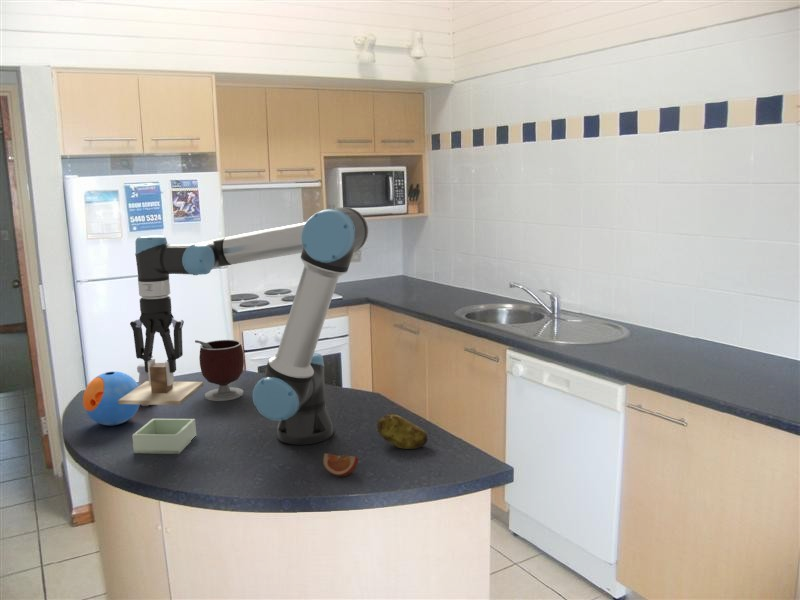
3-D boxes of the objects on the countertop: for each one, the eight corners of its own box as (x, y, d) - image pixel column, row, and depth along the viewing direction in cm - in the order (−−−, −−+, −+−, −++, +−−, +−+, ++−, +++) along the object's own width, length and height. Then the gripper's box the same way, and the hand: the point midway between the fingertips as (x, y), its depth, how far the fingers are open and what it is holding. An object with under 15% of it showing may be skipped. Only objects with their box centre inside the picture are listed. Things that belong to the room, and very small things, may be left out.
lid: (203, 385, 182) (201, 357, 181) (180, 404, 166) (177, 374, 165) (146, 384, 183) (144, 356, 182) (118, 404, 167) (115, 373, 166)
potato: (413, 456, 167) (412, 426, 165) (372, 445, 174) (371, 416, 173) (431, 445, 173) (430, 416, 172) (391, 435, 181) (390, 407, 179)
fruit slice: (319, 477, 156) (318, 457, 155) (331, 465, 162) (330, 446, 162) (351, 482, 153) (350, 461, 153) (363, 470, 160) (362, 450, 159)
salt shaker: (161, 403, 211) (157, 363, 209) (146, 408, 207) (142, 368, 204) (149, 400, 215) (146, 361, 212) (134, 405, 210) (130, 365, 208)
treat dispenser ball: (153, 421, 195) (148, 371, 192) (101, 437, 183) (96, 384, 181) (126, 410, 205) (122, 362, 202) (76, 425, 193) (70, 374, 191)
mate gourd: (232, 385, 228) (229, 329, 224) (253, 394, 218) (250, 335, 214) (190, 396, 218) (185, 336, 214) (210, 406, 208) (205, 344, 204)
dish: (196, 436, 183) (195, 418, 182) (178, 453, 171) (177, 435, 170) (154, 435, 184) (152, 418, 183) (134, 453, 172) (132, 435, 171)
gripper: (115, 298, 167) (123, 388, 171) (181, 299, 166) (188, 389, 170) (129, 293, 174) (136, 379, 179) (193, 293, 173) (198, 380, 177)
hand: (161, 384), depth 174 cm, fingers closed on lid, 4 cm apart
